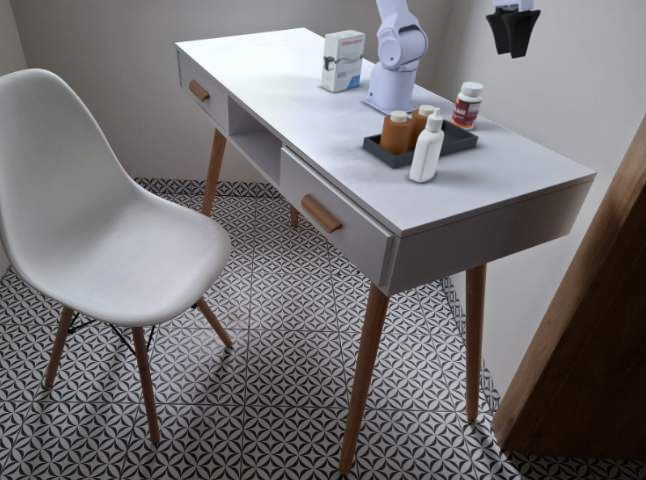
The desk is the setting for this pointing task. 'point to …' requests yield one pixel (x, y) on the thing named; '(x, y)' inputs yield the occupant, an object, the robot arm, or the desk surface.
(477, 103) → the pill bottle
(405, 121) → the amber bottle far
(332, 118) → the desk surface
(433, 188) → the desk surface
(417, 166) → the eye dropper bottle
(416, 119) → the amber bottle middle
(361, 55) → the ink box
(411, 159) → the tray
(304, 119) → the desk surface
